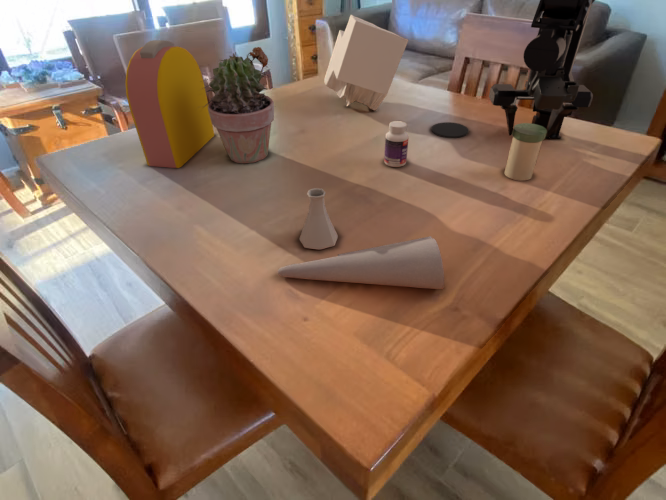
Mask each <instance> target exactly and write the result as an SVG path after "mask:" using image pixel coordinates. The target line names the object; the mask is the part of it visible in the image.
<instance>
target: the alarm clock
mask: <svg viewBox="0 0 666 500" xmlns="http://www.w3.org/2000/svg"><path fill="white" fill-rule="evenodd" d="M126 67H127V68H126V72H125V81H124V83H125V95H126V100H127V103H128V108H129V111H130V114H131V117H132V121H133V124H134V127H135V130H136V134H137V136H138V139H139V142H140V145H141V148H142V152H143V156H144V158H145V161H146V165H147V166H149V167H158V168H159V167H160V168H172V169H179V168H182V167H183V166H184V165H185V164H186V163H187V162H188V161H190V159H192V158H193V156H195V154H196V153H198V152H199V151H200V150H201V149H202V148H204V146H205V145H207V144H208V143H209V141H211V140H212V139H213V137H215V130H214V126H213V124H212V122H211V118H210V115H209V111H208V105H209V104H207V103H208V102H209V101H208V96H207V90H206V86H205V81H204V78H203V74H202V71H201V68H200V66H199V64H198V62H197V60H196V59H195V57H194V55H193V54H191V52H189V51H188V50H187V49H186V48H184V47H180V46H176V45H175V43H174V42H172V41H170V40H159V39H158V40H157V39H156V40H153V39H152V40H149V41H148V42H146V43H145V44H144V45H143V46H141V47H139V48H138V49H137V50H135V51H134V52H133V54H132V55H131V57H130V58H129V61H128V65H127V66H126ZM200 81H201V82H200ZM204 87H205V88H204ZM206 104H207V105H206ZM205 105H206V106H205ZM202 106H205V107H202ZM202 108H203V109H202ZM207 114H208V115H207Z"/></svg>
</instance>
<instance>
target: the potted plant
mask: <svg viewBox="0 0 666 500" xmlns="http://www.w3.org/2000/svg"><path fill="white" fill-rule="evenodd" d="M236 55H237V52H236V51H235V52H233V53H232V56H231V55H229V58H225V59H220V61H218V67H215V68H212V73H213V77H211V78H210V77H209V78H207V79H203V81H204V82H205V81H208V80H211V81H210V82H209V83H208V85H206V86H205V87H204V88H205V89H206V88H208V87H210V88H209V89H208V90H206V93H208V92H212V93H214V95H213V96H212V97H210V100H209V101H208V103H207V104H208V111H209V115H210V118H211V122H212V125H213V128H216V130H217V133H218V136H219V138H220V140H221V142H222V144H223V146H224V149H225V151H226V153H227V155H228V158H229V159H230V161H232V162H234V163H238V164H252V163H257V162H259V161H262V160H264V159H266V157H268V153H269V147H270V139H271V138H270V137H271V130H272V123H273V121H275V101H274V100H273V99H272V97H270V96H268V95H265V93H262V91H264V90H268V91H269V88H267V87H265V83H263V84H262V83H261V79H262V78H263V77H264V78H267V76H268V77H271V78H272V76H270V75H268V74H266V73H264V69H265V67H266V66H267V65H268V63H269V58H268V55H267V54H266V53H265V51H264V50H263V49H262V47H261V46H257V47H253V48H252V51H249V52H248V54H246V58H245V59H244V58H243V56H236ZM249 57H251V58H252V59H251V58H249ZM255 59H256V60H257V61H258V62H259V63H260V64H261V67H262V68H261V70H259V69H256V67H255V65H254V63H253V61H254V60H255ZM200 82H201V81H200ZM207 104H206V105H207ZM206 105H205V106H206ZM205 106H202V107H205ZM202 109H203V108H202ZM207 115H208V114H207Z"/></svg>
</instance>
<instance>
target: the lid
mask: <svg viewBox="0 0 666 500" xmlns="http://www.w3.org/2000/svg"><path fill="white" fill-rule="evenodd" d="M531 123H532V122H531ZM531 123H530V122H521V123H517V124H514V126H513V131H512V135H511V137H512V138H513V137H514V138H516V139H518V140H520V141H524V142H541V141H542V142H543V141H545V137H546V134H547V130H546V128H544V127H542V126H540V125H537V124H531Z"/></svg>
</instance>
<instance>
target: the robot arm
mask: <svg viewBox="0 0 666 500" xmlns="http://www.w3.org/2000/svg"><path fill="white" fill-rule="evenodd" d="M595 1H596V0H539V3H538V6H537V7H536V11H535V14H534V16H533V19H532V21H531V25H530V28H534V29H536V28H537V29H538V32H537V35H536V37H534V38H533V39H532V40H530V41H529V42H528V44H527V45H526V47H525V48H524V52H523V61H524V64H525V66H526V67H527V68H528V69H529V74H528V78H527V80H526V81H525V84H524V87H525V89H515V88H514V87H513V85H512V84H511V83H494V84H492V86H491V87H490V89H489V94H488V98H489V100H490V102H491V104H492V106H496V107H500V109H502V110H504V113H505V118H506V126H507V133H508V136H510V137H512V131H513V128H514V126H515V119H516V113H517V111H518V108H519V107H518V106H517V104H516V103H517V100H518V101H519V100H521V101H522V100H523V101H526V100H528V101H534V103H533V106H532V112H534V113H535V112H536V113H535V114H534V115H533V116H532V119H531V124H537V125H540V126H542V127H544V128H546V130H547V134H546V137H545V139H547V140H548V139H549V140H550V139H551V140H560V139H561V138H562V136H561V135H560V133H561V130H562V126H563V123H564V119H565V118H567V117H569V116H572V114H573V112H576V111H578V110H579V108H589V107H591V104H592V102H593V97H594V94H593V93H592V91H591V90H590V89H588V88H587V86H586V85H584V84H580V83H579V81H578V80H574V76H573V73H572V71H573V68H574V65H575V62H576V57H577V55H578V51H579V48H580V45H581V42H582V38H583V35H584V32H585V30H586V29H585V28H586V27H587V26H586V25H587V22H588V19H589V16H590V12H591V9H592V6H593V4H594V3H595ZM545 139H544V140H545Z"/></svg>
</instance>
